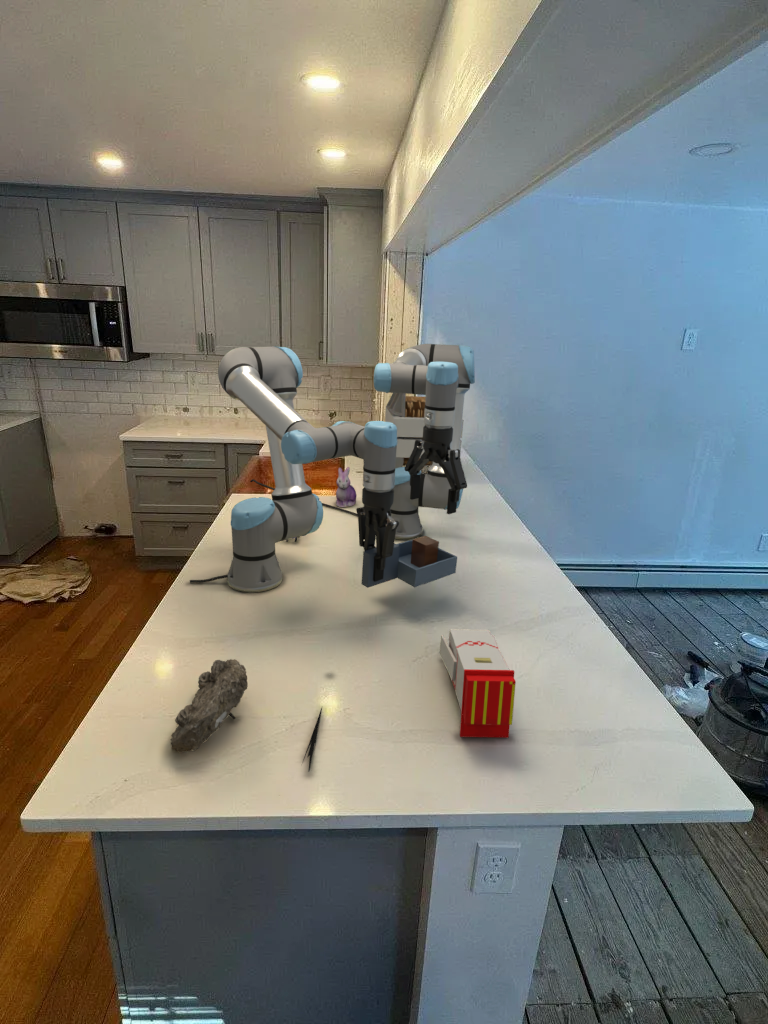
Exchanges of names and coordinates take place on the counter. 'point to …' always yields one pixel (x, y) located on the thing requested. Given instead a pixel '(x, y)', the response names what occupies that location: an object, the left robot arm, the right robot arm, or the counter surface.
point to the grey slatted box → (407, 424)
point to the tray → (407, 566)
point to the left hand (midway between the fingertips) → (374, 577)
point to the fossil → (210, 704)
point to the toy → (479, 682)
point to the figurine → (345, 490)
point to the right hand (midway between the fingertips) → (432, 505)
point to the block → (424, 551)
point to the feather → (313, 740)
